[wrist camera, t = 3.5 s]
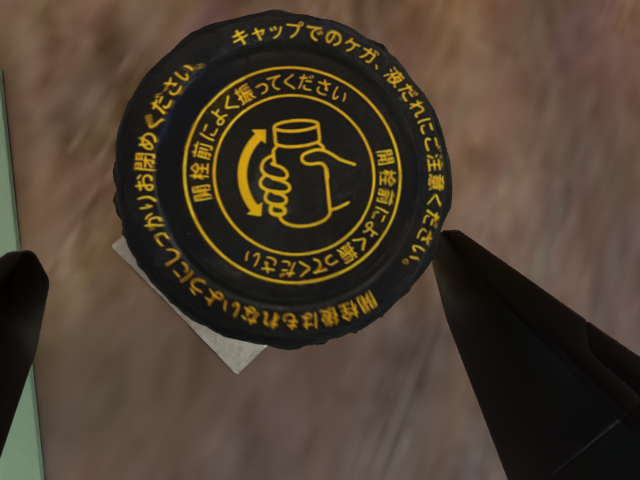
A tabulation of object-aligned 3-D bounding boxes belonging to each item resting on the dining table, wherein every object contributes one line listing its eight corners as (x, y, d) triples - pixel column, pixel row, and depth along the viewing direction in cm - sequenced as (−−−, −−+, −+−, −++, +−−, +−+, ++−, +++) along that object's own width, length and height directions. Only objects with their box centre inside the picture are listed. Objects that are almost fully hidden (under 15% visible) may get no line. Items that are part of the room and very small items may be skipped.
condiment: (379, 236, 19) (591, 194, 7) (236, 373, 17) (189, 616, 6) (267, 113, 18) (281, -165, 6) (113, 246, 17) (-228, 212, 5)
